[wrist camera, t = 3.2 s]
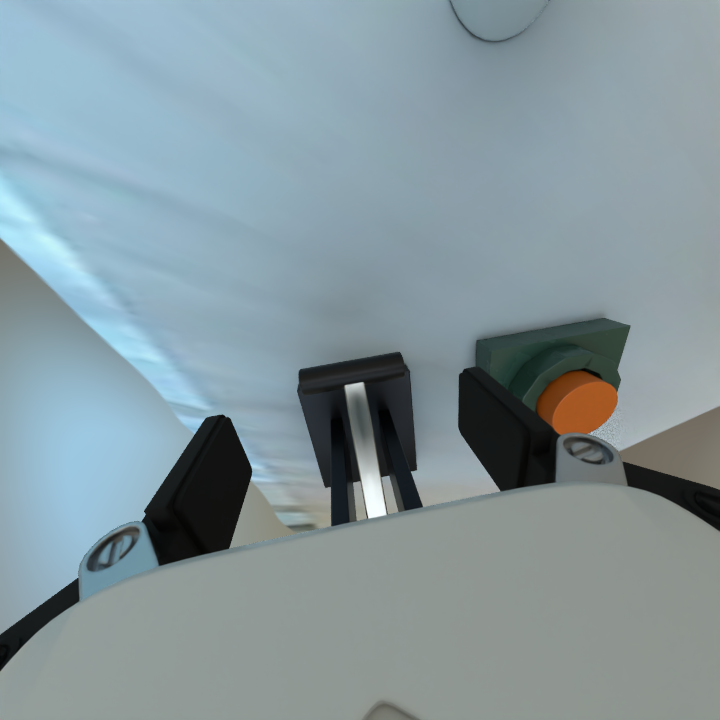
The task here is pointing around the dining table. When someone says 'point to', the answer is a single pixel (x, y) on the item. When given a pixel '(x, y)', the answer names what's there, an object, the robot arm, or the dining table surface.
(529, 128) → the dining table surface
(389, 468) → the lever bracket
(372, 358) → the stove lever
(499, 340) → the block
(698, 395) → the dining table surface
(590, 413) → the button
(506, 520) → the robot arm
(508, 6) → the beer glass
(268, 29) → the dining table surface
